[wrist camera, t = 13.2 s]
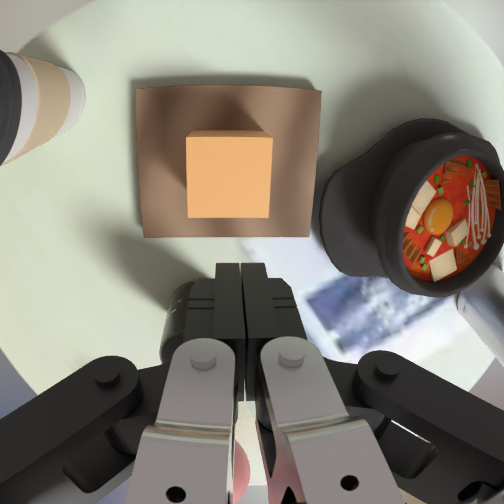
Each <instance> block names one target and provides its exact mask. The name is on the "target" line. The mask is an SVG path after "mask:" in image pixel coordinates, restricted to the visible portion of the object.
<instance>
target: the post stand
mask: <svg viewBox="0 0 504 504" xmlns="http://www.w3.org/2000/svg"><path fill="white" fill-rule="evenodd" d="M321 93H322V91H320V90H311V89H300V88H288V87H274V86H253V85H188V86H168V87H154V88H142V89H136V137H137V160H138V177H139V192H140V204H141V215H142V225H143V235H144V238H162V237H309V235H310V226H311V216H312V207H313V197H314V187H315V176H316V164H317V152H318V139H319V125H320V110H321ZM194 130H246V131H265V132H266V133H267V134H268V135H270V136H271V137H272V138H273V145H272V165H271V184H270V202H269V218H188V206H187V169H186V137H187V136H188V135H189V134H190V133H191V132H193V131H194Z"/></svg>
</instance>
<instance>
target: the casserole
mask: <svg viewBox="0 0 504 504" xmlns="http://www.w3.org/2000/svg"><path fill="white" fill-rule="evenodd" d="M319 221H320V234H321V238H322V241H323V245H324V248H325V251H326V253H327V255H328V256H329V258H330V260H331V262H332V263H333V265H334V266H335V267H336V268H337V269H338V270H339V271H340V272H342V273H344V274H346V275H348V276H356V277H370V276H380V277H385V278H389V279H390V280H391V282H393V283H394V284H395V285H396V286H398V287H399V288H400V289H402V290H404V291H406V292H409V293H411V294H416V295H424V296H428V297H435V298H437V297H447V296H450V295H453V294H456V293H458V292H460V291H462V290H464V289H466V288H468V287H469V286H470V285H472V284H473V283H474V282H476V281H477V280H478V279H479V278H480V277H481V276H482V275H483V274H484V273H485V272H486V271H487V270H488V268H489V267H490V266H491V265H492V263H493V262H494V260H495V259H496V257H497V255H498V254H499V252H500V250H501V248H502V246H503V243H504V170H503V168H502V167H501V165H500V161H499V157H498V155H497V152H496V150H495V148H494V147H493V146H492V144H491V143H490V142H489V141H486V140H483V139H480V138H477V137H474V136H471V135H469V134H467V133H466V132H464V131H462V130H461V129H459V128H457V127H456V126H454V125H452V124H450V123H449V122H446V121H442V120H438V119H417V120H413V121H410V122H406V123H404V124H402V125H400V126H398V127H397V128H395V129H393V130H391V131H390V132H389V133H388V134H387V135H386V136H385V137H383V138H382V139H381V140H380V141H379V142H378V143H377V144H375V145H374V146H373V147H372V148H371V149H370V150H369V151H368V152H366V153H365V154H364V155H362V156H360V157H358V158H356V159H355V160H353V161H351V162H349V163H348V164H346V165H345V166H343V167H342V168H340V169H339V170H337V171H336V172H335V173H334V174H333V175H332V177H331V178H330V179H329V181H328V182H327V184H326V186H325V189H324V192H323V195H322V198H321V205H320V214H319Z"/></svg>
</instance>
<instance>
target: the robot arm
mask: <svg viewBox="0 0 504 504" xmlns="http://www.w3.org/2000/svg"><path fill="white" fill-rule="evenodd" d="M457 306H458V311H459V313H460V314H461V315H462V316H463V317H464V319H465V320H466V321H467V322H468V323H469V324H470V326H471V327H472V328H473V329H474V331H475V332H476V333H477V334H478V335H479V337H480V338H481V339H482V340H483V342H484V343H485V344H486V345H487V346H488V348H489V349H490V350H491V352H492V353H493V354H494V355H495V357H496V358H497V359H498V360H499V362H500V363H501V364H502V365H503V367H504V272H502V271H501V270H500V269H499V268H497V267H496V266H495V265H491V266H490V267H489V268H488V270H487V271H486V272H485V273H484V274H483V275H482V276H481V277H480V278H479V279H478V280H477V281H476V282H474V283H473V284H472V285H470V286H469V287H468V288H466V289H464V290H462V291H461V292H460V294H459V298H458V304H457ZM244 379H245V391H246V401H255V405H256V421H255V424H256V430H257V435H258V440H259V445H260V450H261V455H262V460H263V464H264V469H265V474H266V479H267V485H268V499H269V504H406V503H405V502H404V500H403V497H402V495H401V493H400V491H399V488H401V489H402V490H404V491H406V492H407V493H409V494H411V495H412V496H414V497H416V498H418V499H420V500H421V501H423V502H425V503H427V504H504V411H503V410H501V409H499V408H497V407H495V406H493V405H491V404H490V403H488V402H486V401H484V400H482V399H480V398H478V397H476V396H474V395H472V394H471V393H469V392H467V391H465V390H463V389H461V388H459V387H457V386H456V385H454V384H452V383H450V382H448V381H446V380H444V379H442V378H441V377H439V376H437V375H435V374H433V373H431V372H429V371H428V370H426V369H424V368H422V367H420V366H418V365H416V364H415V363H413V362H411V361H409V360H407V359H405V358H404V357H402V356H400V355H398V354H396V353H393V352H389V351H382V350H379V351H372V352H369V353H367V354H365V355H364V356H362V358H361V359H360V360H359V362H358V364H351V363H344V362H337V361H333V360H330V359H327V358H325V357H323V356H322V355H321V352H320V351H319V349H318V348H317V347H316V346H315V345H314V344H313V343H311V342H309V341H308V340H307V337H306V333H305V330H304V327H303V324H302V321H301V318H300V315H299V311H298V308H297V305H296V302H295V299H294V296H293V293H292V290H291V287H290V286H289V285H288V284H287V283H286V282H285V281H284V280H283V279H282V278H268V277H267V273H266V268H265V264H264V263H241V270H240V267H239V263H216V273H215V279H198V281H197V282H196V283H195V284H194V285H193V286H192V287H191V290H190V297H189V303H188V310H187V316H186V323H185V330H184V337H183V344H182V345H181V346H179V347H178V348H177V349H176V351H175V352H174V354H173V357H172V359H171V360H170V361H168V362H166V363H164V364H161V365H158V366H154V367H149V368H144V369H139V370H137V368H136V367H135V365H134V364H133V363H132V362H131V361H129V360H128V359H126V358H123V357H119V356H104V357H100V358H97V359H95V360H93V361H91V362H90V363H88V364H86V365H85V366H83V367H82V368H80V369H79V370H77V371H76V372H74V373H72V374H71V375H69V376H68V377H66V378H65V379H63V380H61V381H60V382H58V383H57V384H55V385H54V386H52V387H51V388H49V389H47V390H46V391H44V392H43V393H41V394H40V395H38V396H37V397H35V398H33V399H32V400H31V401H29V402H27V403H26V404H24V405H22V406H21V407H19V408H18V409H16V410H15V411H13V412H11V413H10V414H8V415H7V416H5V417H3V418H2V419H0V504H96V503H97V502H99V501H100V500H101V499H103V498H104V497H105V496H106V495H108V494H109V493H110V492H112V491H113V490H114V489H115V488H117V487H118V486H119V485H120V484H122V483H123V482H124V481H125V480H127V479H128V478H129V477H130V476H131V475H132V476H131V480H130V485H129V489H128V493H127V498H126V502H125V504H233V473H234V448H235V424H236V422H237V419H238V401H244ZM391 420H393V421H395V422H397V423H398V424H400V425H402V426H403V427H405V428H407V429H409V430H410V431H412V432H414V433H415V434H417V435H419V436H421V437H422V438H424V439H426V440H428V441H429V442H431V443H428V442H425V441H424V440H422V439H420V438H418V437H417V436H415V435H413V434H412V433H410V432H408V431H406V430H405V429H403V428H401V427H400V426H398V425H396V424H395V423H393V422H391ZM398 487H399V488H398Z"/></svg>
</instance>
